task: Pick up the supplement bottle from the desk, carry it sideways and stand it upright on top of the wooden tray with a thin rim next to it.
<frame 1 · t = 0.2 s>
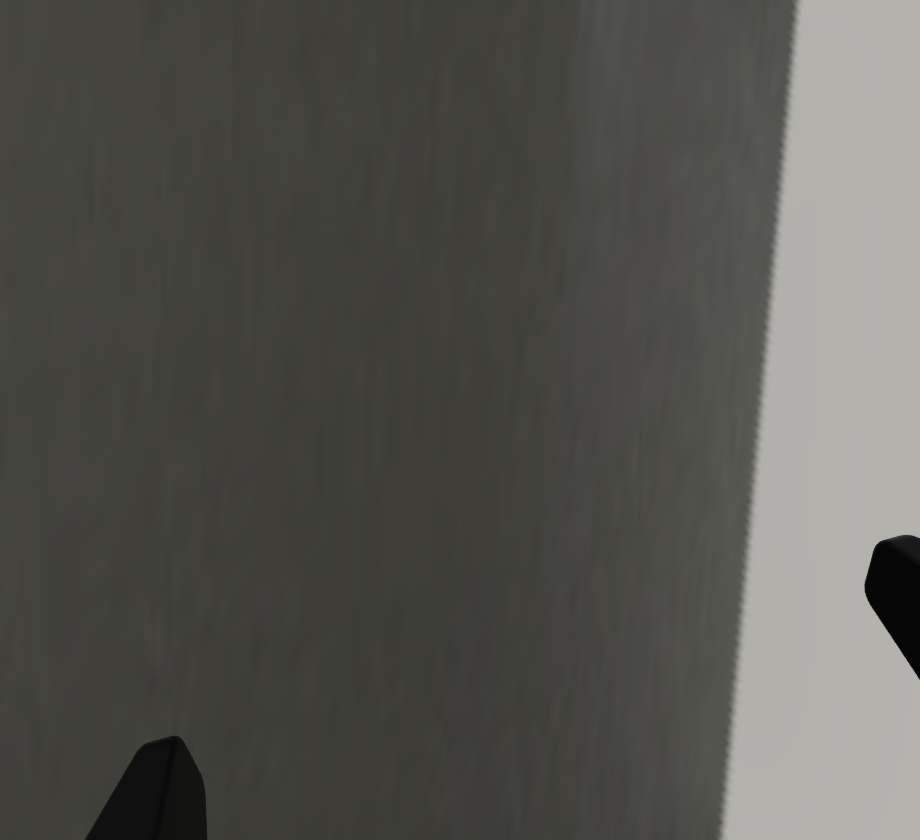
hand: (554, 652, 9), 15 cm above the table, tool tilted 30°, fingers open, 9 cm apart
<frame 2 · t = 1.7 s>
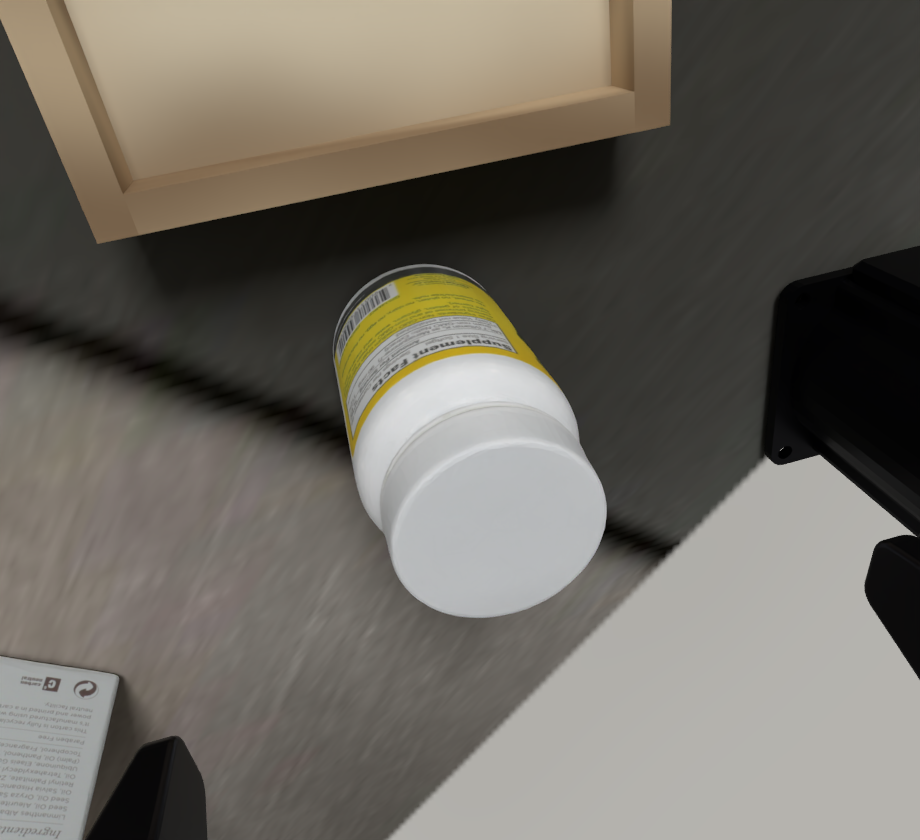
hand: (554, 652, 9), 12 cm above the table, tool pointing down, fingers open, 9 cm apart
supplement bottle: (417, 340, 20), on the table
skincare box: (29, 717, 24), on the table
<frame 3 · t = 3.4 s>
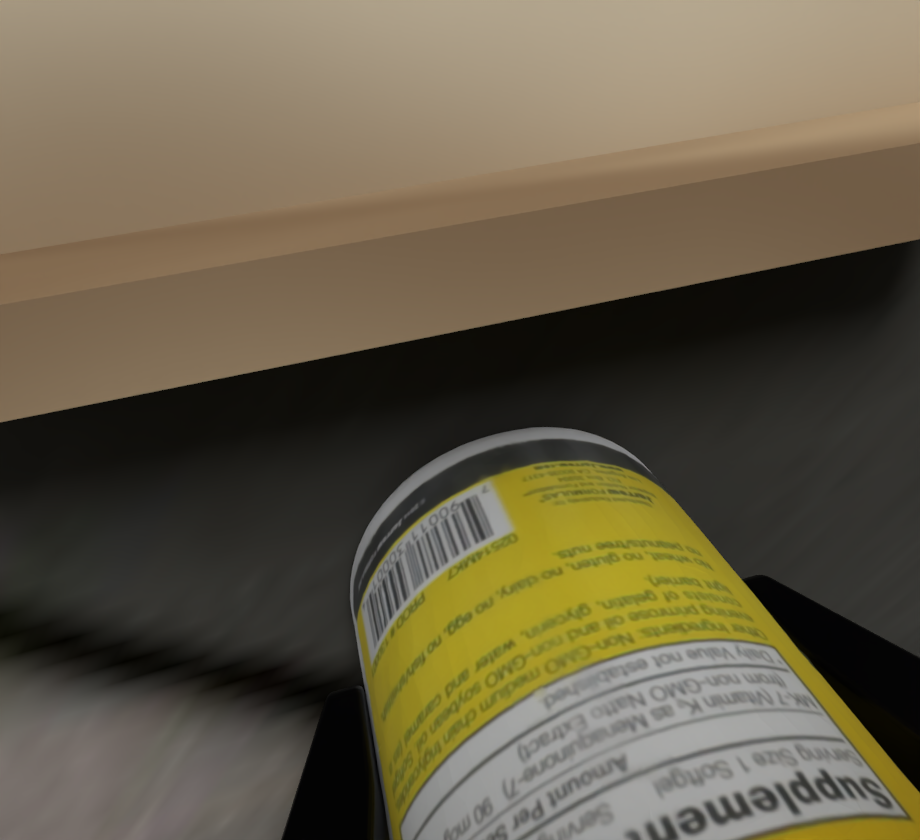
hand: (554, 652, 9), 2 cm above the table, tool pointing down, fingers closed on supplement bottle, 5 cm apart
supplement bottle: (506, 547, 11), on the table, touching gripper
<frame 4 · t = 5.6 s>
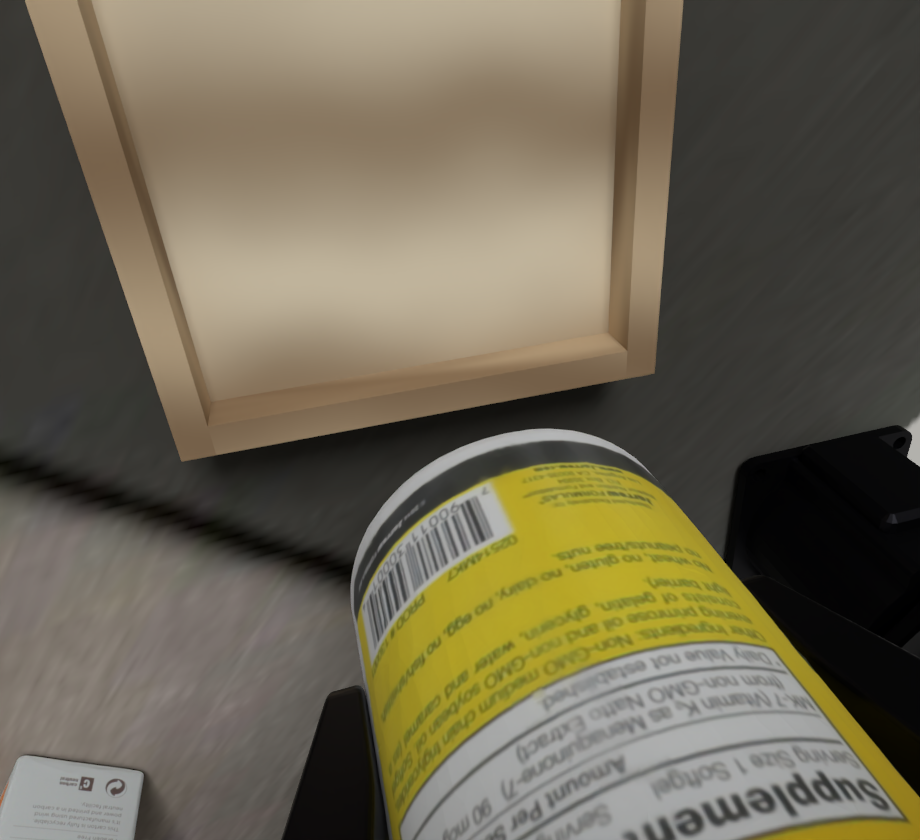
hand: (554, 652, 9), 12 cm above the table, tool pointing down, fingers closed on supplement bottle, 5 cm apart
wooden tray: (380, 138, 17), on the table
supplement bottle: (506, 548, 11), point 10 cm above the table, touching gripper
skincare box: (57, 806, 26), on the table
when the fingers open (4 cm above the table, at t = 8.1 s): supplement bottle drops 1 cm, resting on wooden tray.
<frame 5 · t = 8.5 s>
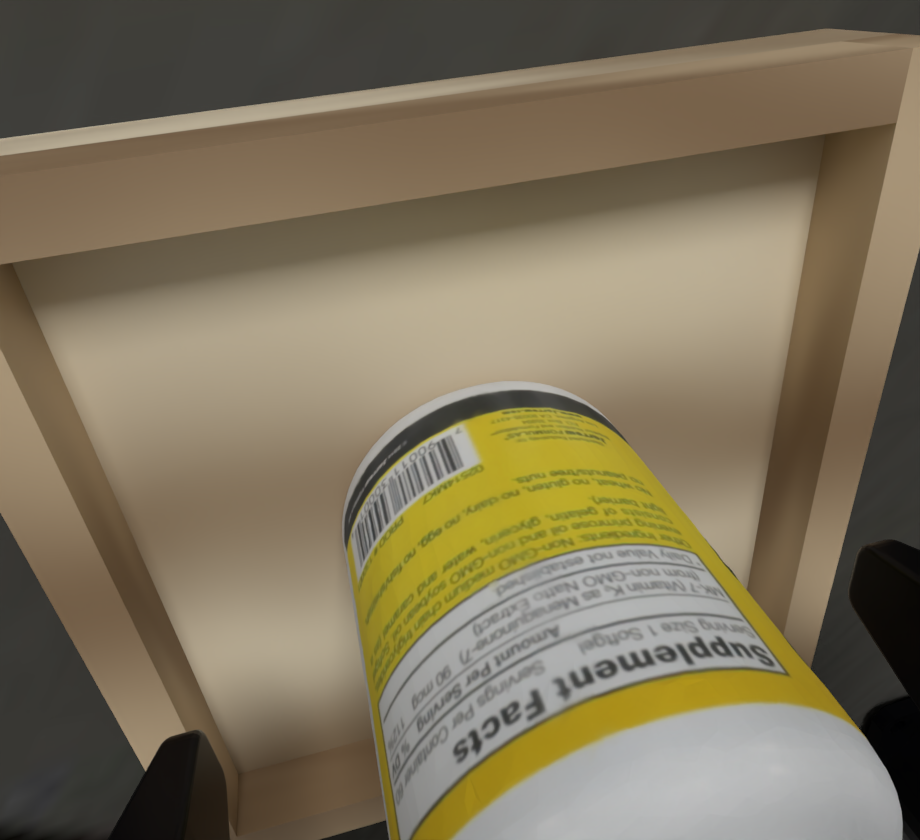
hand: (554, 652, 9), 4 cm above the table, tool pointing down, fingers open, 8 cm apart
wooden tray: (454, 434, 13), on the table, touching supplement bottle
supplement bottle: (483, 493, 12), point 1 cm above the table, touching wooden tray
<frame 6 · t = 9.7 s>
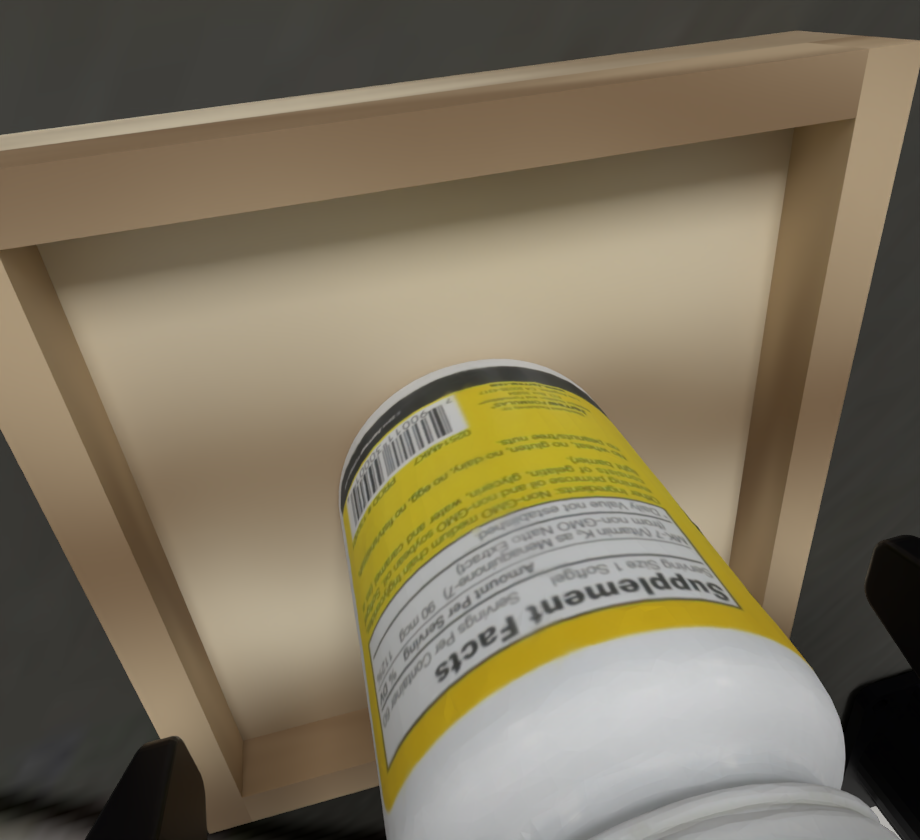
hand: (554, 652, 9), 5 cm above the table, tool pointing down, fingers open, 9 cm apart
wooden tray: (449, 415, 14), on the table, touching supplement bottle
supplement bottle: (473, 469, 12), point 1 cm above the table, touching wooden tray
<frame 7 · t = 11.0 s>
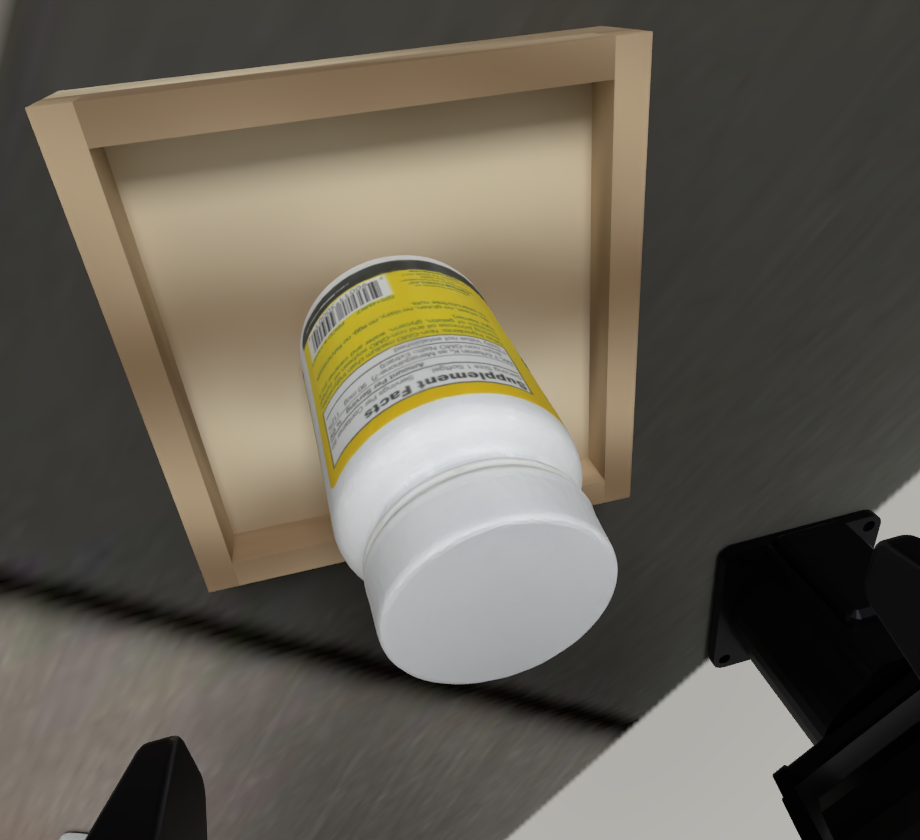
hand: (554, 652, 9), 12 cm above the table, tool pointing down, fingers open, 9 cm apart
wooden tray: (381, 300, 19), on the table, touching supplement bottle
supplement bottle: (394, 334, 18), point 1 cm above the table, touching wooden tray
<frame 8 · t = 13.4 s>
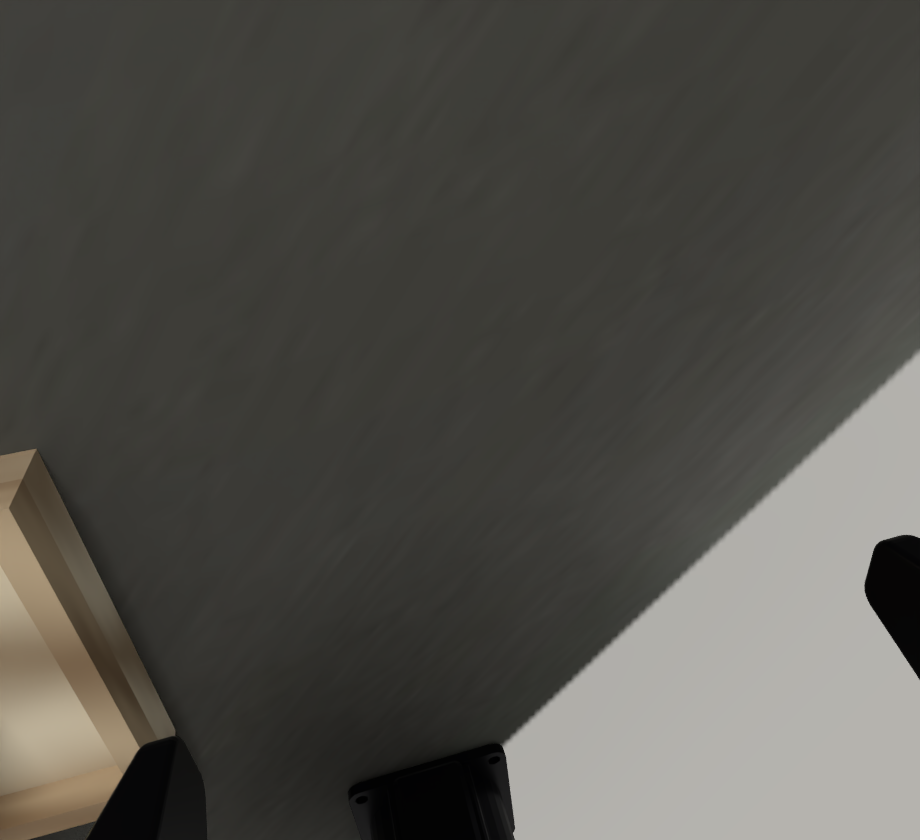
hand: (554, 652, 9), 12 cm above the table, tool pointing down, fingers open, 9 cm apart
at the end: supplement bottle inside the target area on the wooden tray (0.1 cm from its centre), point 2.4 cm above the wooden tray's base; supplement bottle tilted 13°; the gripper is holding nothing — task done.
